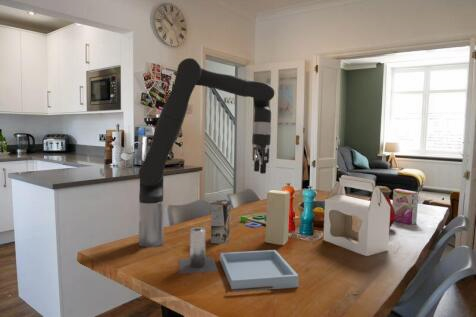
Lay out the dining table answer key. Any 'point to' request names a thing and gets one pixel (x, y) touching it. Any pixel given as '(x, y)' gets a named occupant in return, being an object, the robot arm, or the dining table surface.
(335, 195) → the gable box
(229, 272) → the tray
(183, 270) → the mat
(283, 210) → the beige rectangular block
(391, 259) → the dining table surface
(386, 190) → the bottle
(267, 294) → the dining table surface
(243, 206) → the dining table surface
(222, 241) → the coffee box
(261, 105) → the robot arm
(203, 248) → the bushing
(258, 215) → the shape sorter
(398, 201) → the candy bar box
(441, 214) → the dining table surface
